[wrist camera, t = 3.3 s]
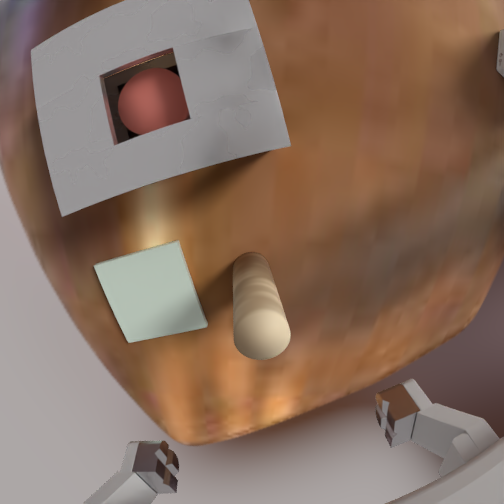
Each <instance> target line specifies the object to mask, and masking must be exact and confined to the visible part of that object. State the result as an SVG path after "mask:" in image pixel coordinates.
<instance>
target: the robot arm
mask: <svg viewBox="0 0 504 504" xmlns="http://www.w3.org/2000/svg"><path fill="white" fill-rule="evenodd" d="M376 401H377V403H378V404H377V406H376V407H375V413H376V418H377V420H378V423H379V425H380V427H381V428H382V429H385V437H386V439H387V441H388V443H389V445H390V447H391V448H392V447H394V446H397V445H399V444H402V443H404V442H407V441H409V440H411V441H412V442H414V443H416V444H418V445H420V446H422V447H423V448H425V449H427V450H429V451H431V452H433V453H435V454H437V455H439V456H441V457H443V458H444V461H443V463H442V465H441V467H440V469H439V471H438V473H439V475H440V477H441V478H439V479H437V480H435V481H433V482H431V483H429V484H428V485H426V486H424V487H422V488H419V489H417V490H415V491H413V492H411V493H409V494H407V495H404V496H402V497H400V498H398V499H395V500H393V501H390V502H388V503H386V504H504V437H503V438H501V439H499V438H498V436H497V435H496V434H495V433H494V431H493V430H492V429H491V428H490V426H489V425H488V424H487V422H486V421H485V420H484V419H483V418H479V417H476V416H473V415H470V414H466V413H463V412H460V411H457V410H454V409H451V408H448V407H446V406H442V405H440V404H437V403H436V404H432V403H431V402H430V400H429V399H428V398H427V396H426V395H425V393H424V392H423V391H422V389H421V388H420V387H419V385H418V384H417V383H416V382H415V380H413V379H410V380H408V381H405V382H403V383H401V384H398V385H395V386H393V387H391V388H388V389H386V390H383V391H381V392H378V393H377V394H376ZM168 448H169V445H168V444H167V442H166V441H135V442H134V441H131V442H129V444H128V446H127V449H126V452H125V456H124V460H123V463H122V467H121V471H120V472H117V473H116V474H114V475H113V476H112V477H111V478H110V479H109V480H108V481H107V482H106V483H105V484H104V485H103V486H101V487H100V488H99V489H98V490H97V491H96V492H95V493H94V494H93V495H91V496H90V497H89V498H88V499H87V500H86V501H85V502H84V504H151V503H152V502H153V500H154V499H155V498H156V496H157V494H158V493H176V492H177V482H178V480H177V479H176V477H175V475H176V474H177V473H178V472H179V462H178V458H177V456H176V454H175V453H174V451H172V450H170V449H168Z"/></svg>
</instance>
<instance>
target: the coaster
mask: <svg viewBox="0 0 504 504" xmlns="http://www.w3.org/2000/svg"><path fill="white" fill-rule="evenodd" d="M94 268H95V270H96V273H97V275H98V278H99V280H100V283H101V285H102V287H103V290H104V292H105V294H106V297H107V299H108V301H109V303H110V306H111V308H112V310H113V312H114V314H115V316H116V319H117V321H118V323H119V325H120V327H121V329H122V331H123V333H124V335H125V337H126V339H127V341H128V343H130V342H135V341H141V340H146V339H152V338H157V337H162V336H167V335H172V334H177V333H182V332H187V331H191V330H196V329H201V328H205V327H207V325H208V323H207V320H206V318H205V315H204V312H203V309H202V307H201V304H200V301H199V298H198V296H197V293H196V290H195V287H194V284H193V281H192V279H191V276H190V273H189V270H188V267H187V264H186V261H185V258H184V255H183V252H182V249H181V246H180V243H179V240H176V241H172V242H169V243H165V244H162V245H158V246H155V247H151V248H148V249H144V250H141V251H137V252H134V253H130V254H127V255H124V256H120V257H117V258H113V259H110V260H107V261H103V262H100V263H97V264H95V265H94Z"/></svg>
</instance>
